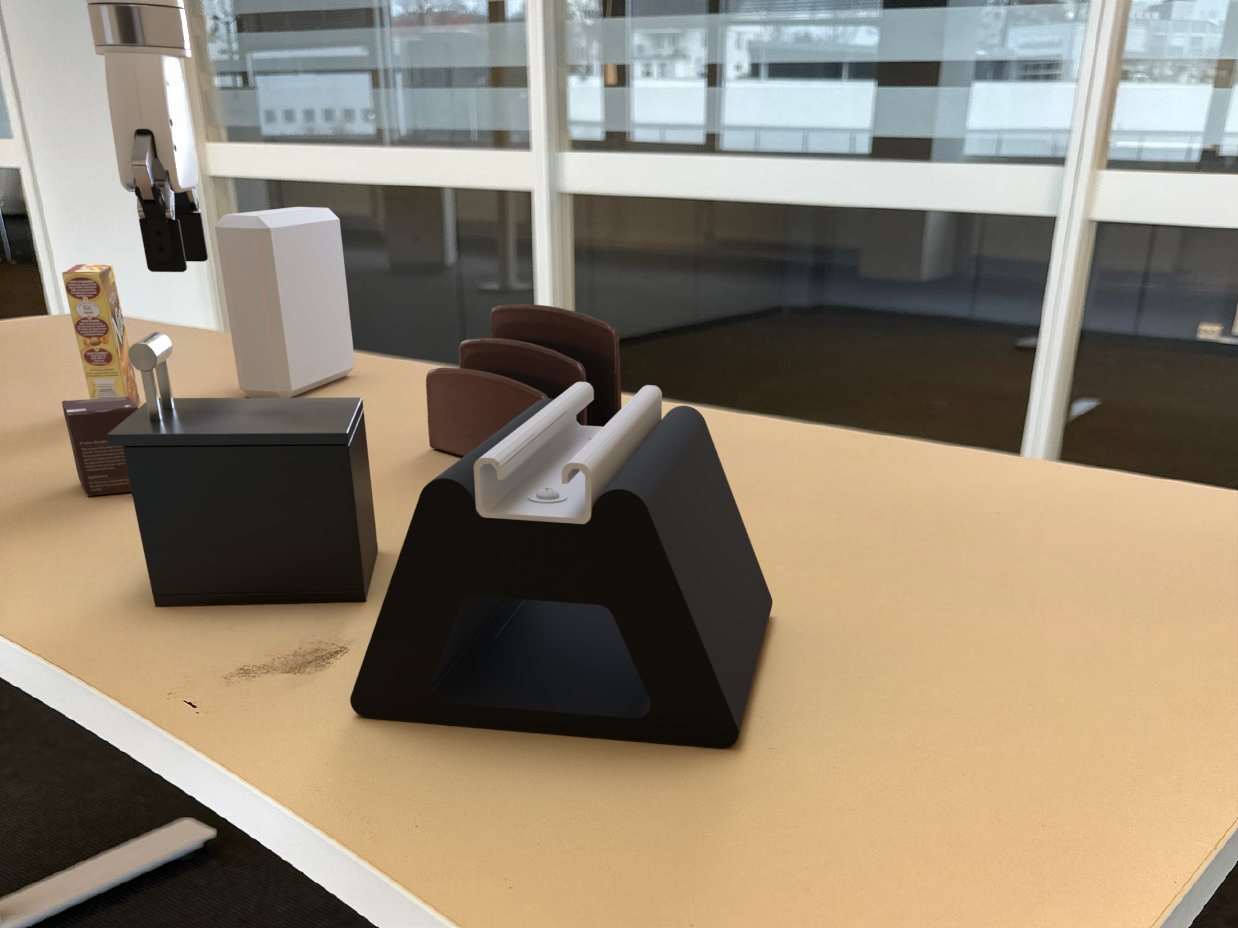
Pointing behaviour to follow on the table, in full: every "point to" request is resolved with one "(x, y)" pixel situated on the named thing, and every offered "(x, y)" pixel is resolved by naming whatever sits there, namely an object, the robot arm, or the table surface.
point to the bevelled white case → (286, 299)
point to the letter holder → (522, 374)
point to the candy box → (100, 331)
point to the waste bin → (255, 522)
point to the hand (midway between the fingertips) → (179, 265)
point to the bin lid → (226, 413)
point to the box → (98, 443)
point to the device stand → (575, 585)
